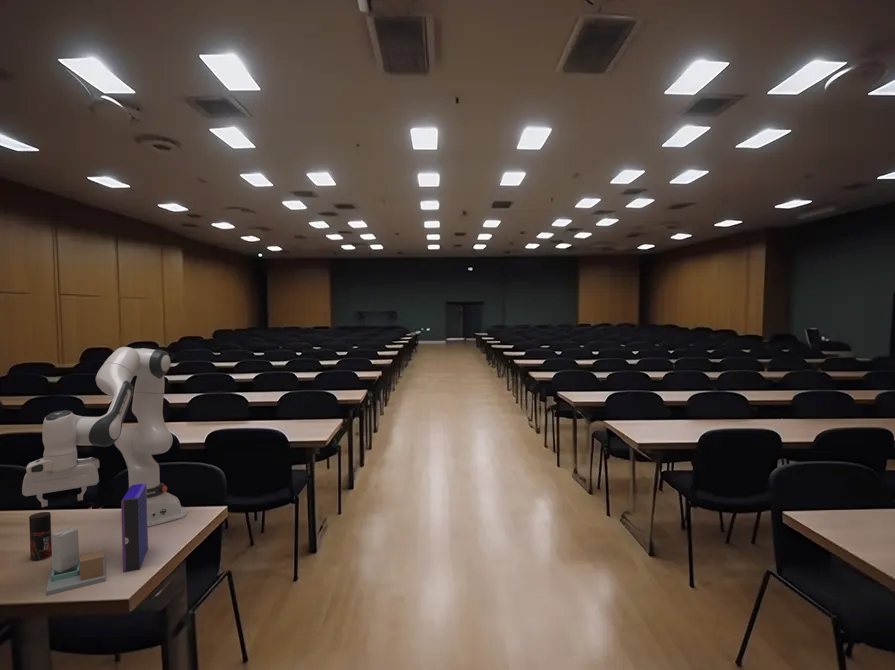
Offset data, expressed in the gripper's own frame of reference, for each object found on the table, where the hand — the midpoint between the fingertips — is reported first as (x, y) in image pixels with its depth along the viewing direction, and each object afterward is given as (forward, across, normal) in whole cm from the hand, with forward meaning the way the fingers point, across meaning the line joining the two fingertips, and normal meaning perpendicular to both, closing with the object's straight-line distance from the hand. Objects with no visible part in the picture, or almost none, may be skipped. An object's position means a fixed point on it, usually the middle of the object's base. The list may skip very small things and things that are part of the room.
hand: (62, 503), depth 171 cm
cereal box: (+24, -20, +3) cm, 31 cm away
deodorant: (+24, +8, -19) cm, 31 cm away
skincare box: (+21, 0, +3) cm, 21 cm away
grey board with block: (+23, -3, +5) cm, 24 cm away
